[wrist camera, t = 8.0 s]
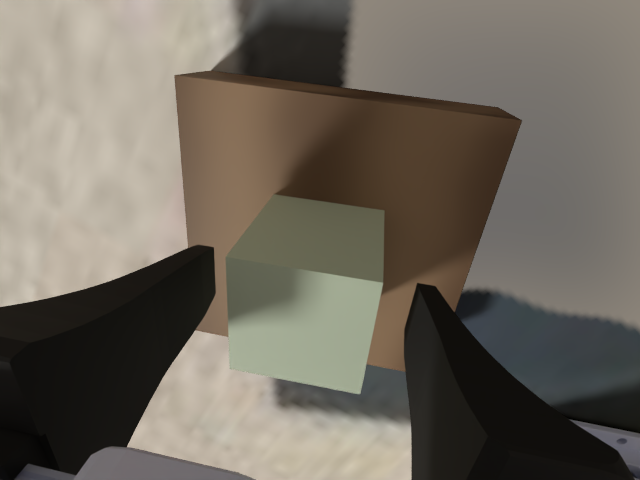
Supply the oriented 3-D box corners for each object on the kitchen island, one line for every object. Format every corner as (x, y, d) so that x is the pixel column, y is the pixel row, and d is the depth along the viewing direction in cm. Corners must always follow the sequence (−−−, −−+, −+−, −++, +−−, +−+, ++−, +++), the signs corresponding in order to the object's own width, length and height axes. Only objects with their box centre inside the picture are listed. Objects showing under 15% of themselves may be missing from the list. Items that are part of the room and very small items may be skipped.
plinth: (497, 107, 15) (522, 120, 12) (426, 334, 20) (431, 376, 18) (209, 70, 16) (174, 75, 13) (218, 295, 21) (194, 330, 19)
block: (384, 210, 14) (383, 282, 10) (367, 301, 16) (359, 394, 12) (273, 194, 15) (225, 256, 10) (270, 284, 17) (229, 369, 12)
